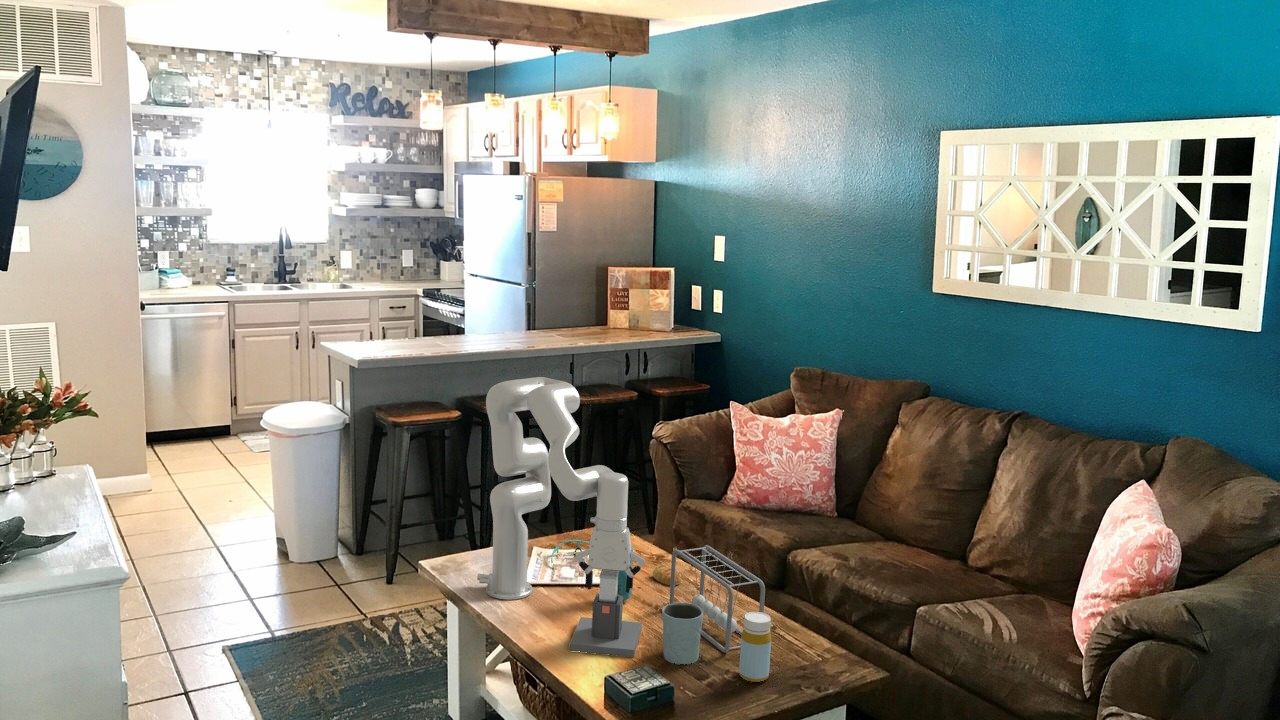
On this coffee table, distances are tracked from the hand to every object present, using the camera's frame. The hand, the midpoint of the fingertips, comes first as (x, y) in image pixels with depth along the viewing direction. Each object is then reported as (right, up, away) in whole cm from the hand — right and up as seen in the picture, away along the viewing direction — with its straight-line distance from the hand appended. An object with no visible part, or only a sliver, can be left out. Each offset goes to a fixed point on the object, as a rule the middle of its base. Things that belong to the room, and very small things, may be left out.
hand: (609, 589), depth 262 cm
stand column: (-1, -10, +2) cm, 11 cm away
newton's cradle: (+27, -13, +13) cm, 32 cm away
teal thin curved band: (-12, -4, +54) cm, 55 cm away
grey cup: (+18, -16, -4) cm, 24 cm away
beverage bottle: (+2, -9, +27) cm, 29 cm away
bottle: (+35, -18, -13) cm, 41 cm away
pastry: (+16, -7, +44) cm, 47 cm away
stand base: (-1, -13, +3) cm, 14 cm away
